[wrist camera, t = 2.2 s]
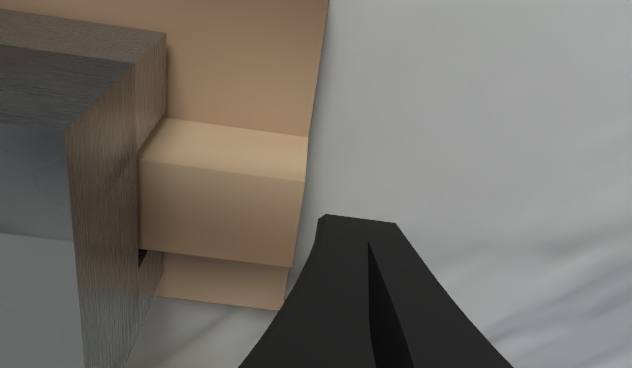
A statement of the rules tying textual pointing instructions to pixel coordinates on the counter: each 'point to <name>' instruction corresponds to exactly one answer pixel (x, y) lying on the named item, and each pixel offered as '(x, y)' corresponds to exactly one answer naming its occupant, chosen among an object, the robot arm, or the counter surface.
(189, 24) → the rail board
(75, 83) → the keeper
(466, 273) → the counter surface
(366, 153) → the counter surface
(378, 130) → the counter surface
